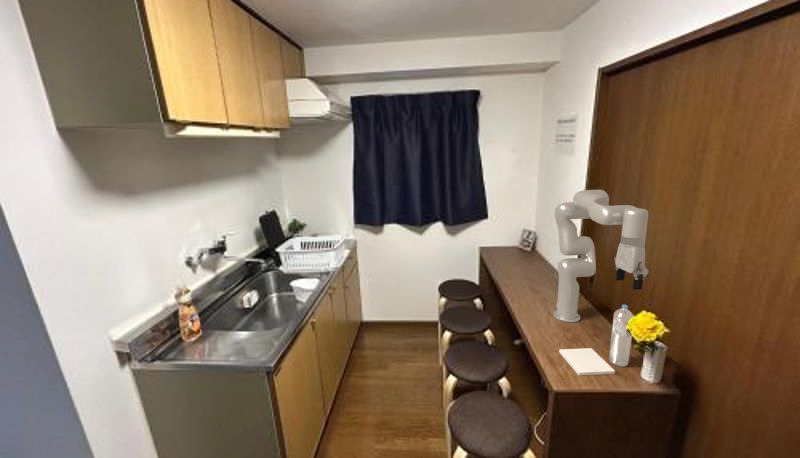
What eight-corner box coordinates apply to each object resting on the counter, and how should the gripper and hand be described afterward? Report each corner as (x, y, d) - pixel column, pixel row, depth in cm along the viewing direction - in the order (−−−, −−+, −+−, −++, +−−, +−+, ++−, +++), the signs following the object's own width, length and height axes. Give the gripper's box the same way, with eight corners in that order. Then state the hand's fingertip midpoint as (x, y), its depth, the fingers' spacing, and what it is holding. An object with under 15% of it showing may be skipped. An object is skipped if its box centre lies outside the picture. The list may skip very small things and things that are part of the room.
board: (559, 352, 147) (559, 349, 147) (591, 350, 147) (591, 348, 147) (579, 375, 132) (579, 372, 131) (614, 373, 132) (615, 371, 132)
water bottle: (620, 357, 142) (627, 301, 137) (632, 367, 135) (639, 309, 130) (604, 357, 142) (610, 302, 137) (615, 367, 135) (622, 309, 130)
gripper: (608, 236, 136) (604, 277, 140) (639, 247, 119) (634, 293, 123) (627, 235, 136) (622, 276, 140) (660, 246, 119) (654, 292, 123)
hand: (628, 284), depth 131 cm, fingers open, 9 cm apart
